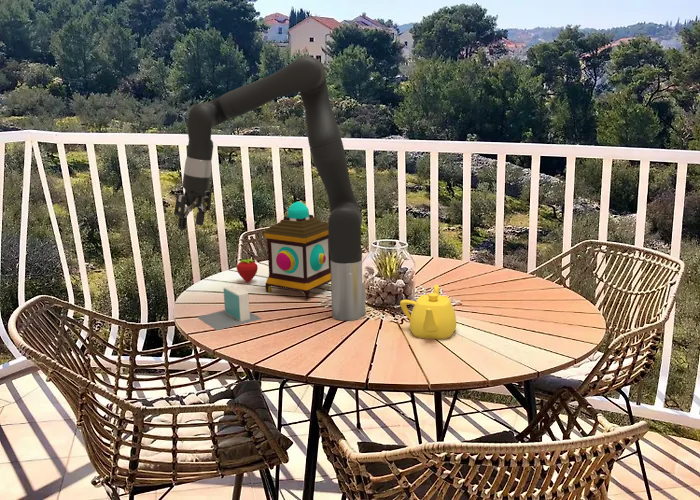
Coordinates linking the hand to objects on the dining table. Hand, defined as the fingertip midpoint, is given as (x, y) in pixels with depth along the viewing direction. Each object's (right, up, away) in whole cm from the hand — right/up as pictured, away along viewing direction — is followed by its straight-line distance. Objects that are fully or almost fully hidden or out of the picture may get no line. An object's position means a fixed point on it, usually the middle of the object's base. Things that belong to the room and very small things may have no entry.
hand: (190, 227), depth 194 cm
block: (+13, -26, +3) cm, 30 cm away
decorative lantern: (+31, -20, +27) cm, 46 cm away
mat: (+11, -27, +1) cm, 29 cm away
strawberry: (+11, -18, +36) cm, 42 cm away
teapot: (+68, -29, -11) cm, 75 cm away
